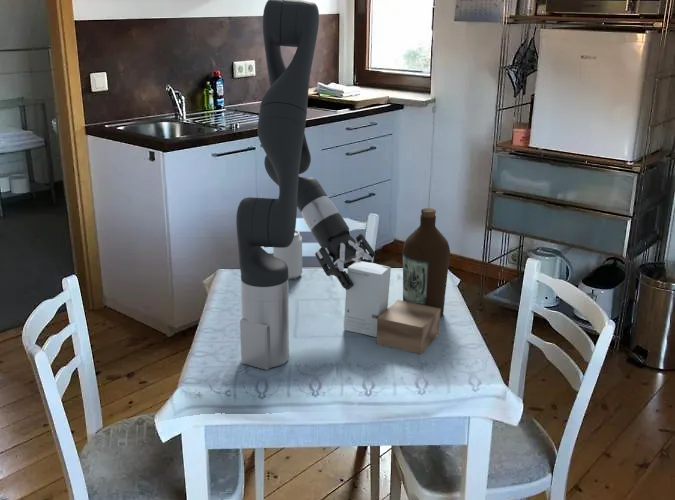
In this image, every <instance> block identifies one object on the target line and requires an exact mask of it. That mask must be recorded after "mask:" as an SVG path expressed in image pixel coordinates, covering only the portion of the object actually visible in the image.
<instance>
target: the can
mask: <svg viewBox="0 0 675 500" xmlns="http://www.w3.org/2000/svg"><path fill="white" fill-rule="evenodd" d="M272 248H273V251H272V252H273V253H272V254H273V255H272V256H274V257H276V258H279V259H281V260H283V261H284V262H285V263H286V264H287V266H288V280H294V279H298V278H299V277H300V276H301V275H302V274H303V236H302V235H300V231H299V230H298V229H295V234H294V238H293V241H292V243H291V244H290V246H288V247H286V248H277V247H272Z"/></svg>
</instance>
